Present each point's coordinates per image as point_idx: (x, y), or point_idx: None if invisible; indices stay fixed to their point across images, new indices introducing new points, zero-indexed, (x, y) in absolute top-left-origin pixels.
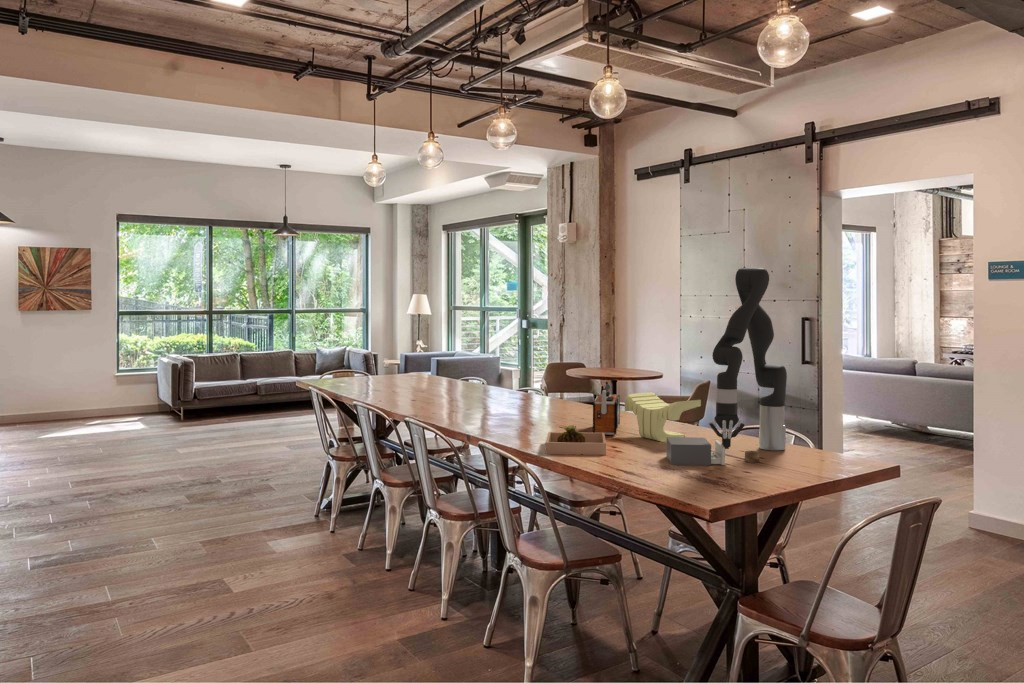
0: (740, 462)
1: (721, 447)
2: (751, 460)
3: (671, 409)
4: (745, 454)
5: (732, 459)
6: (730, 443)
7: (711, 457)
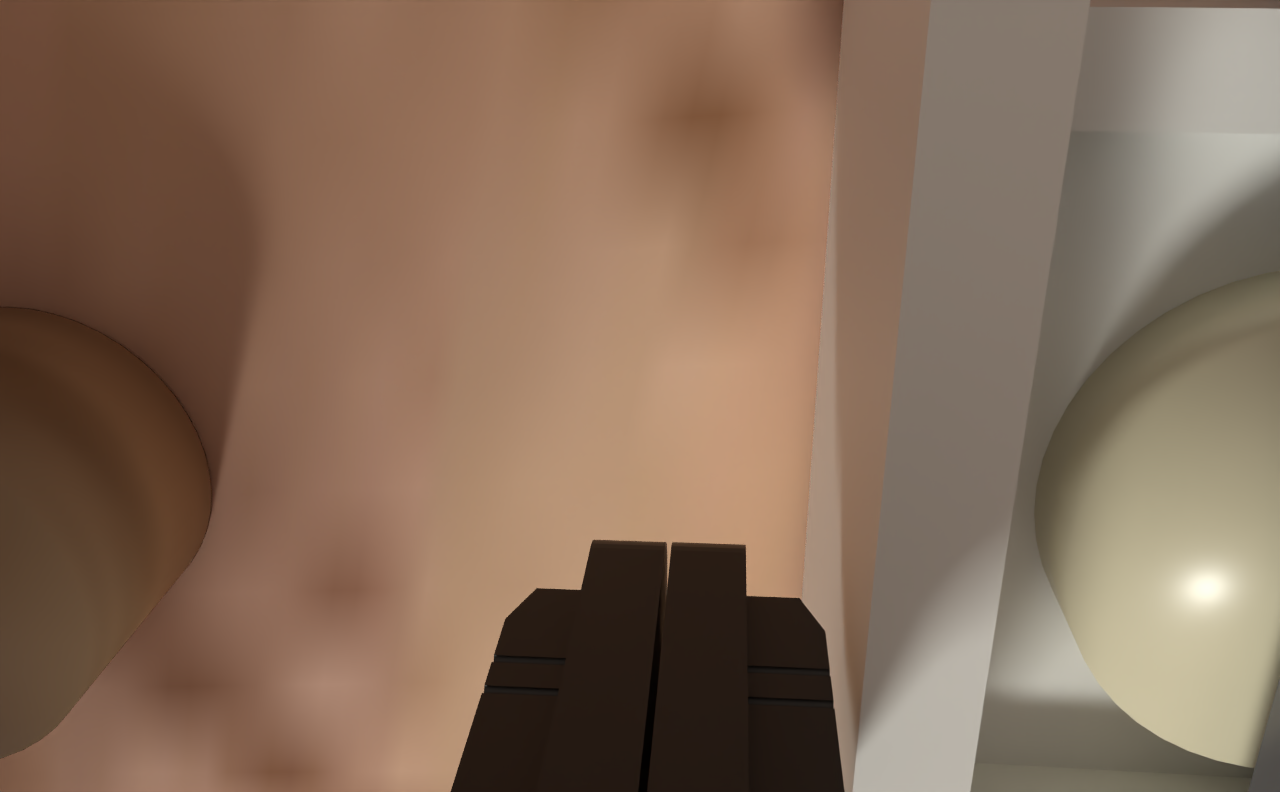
0: (328, 362)
1: (1074, 55)
2: (23, 336)
3: None
4: (110, 538)
5: (479, 665)
6: (490, 682)
7: (1174, 348)
